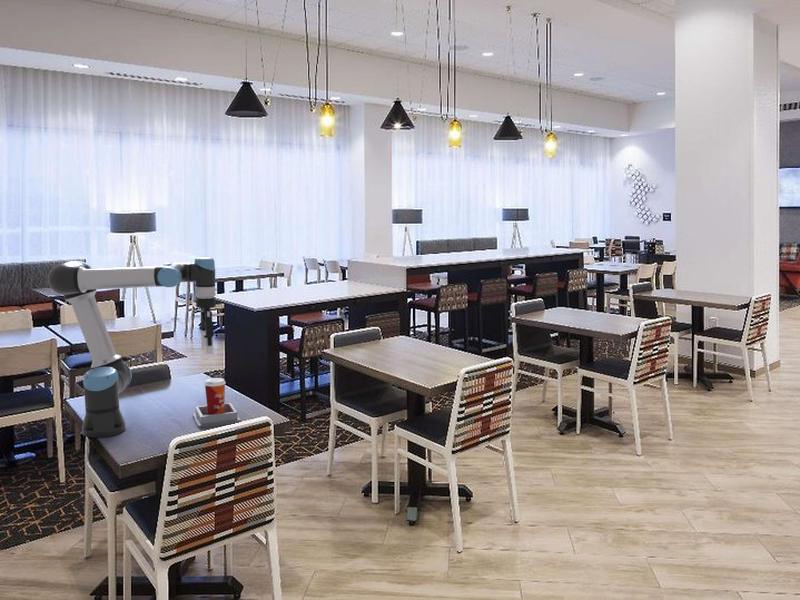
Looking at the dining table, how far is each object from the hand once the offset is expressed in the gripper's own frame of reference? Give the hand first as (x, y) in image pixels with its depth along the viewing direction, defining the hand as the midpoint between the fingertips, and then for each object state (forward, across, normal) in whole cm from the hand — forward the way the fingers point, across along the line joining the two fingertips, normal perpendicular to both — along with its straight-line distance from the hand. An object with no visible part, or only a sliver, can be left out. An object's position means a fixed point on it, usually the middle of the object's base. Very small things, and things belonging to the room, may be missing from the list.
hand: (207, 350), depth 266 cm
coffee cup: (+27, -4, -2) cm, 27 cm away
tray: (+27, -4, -2) cm, 28 cm away
